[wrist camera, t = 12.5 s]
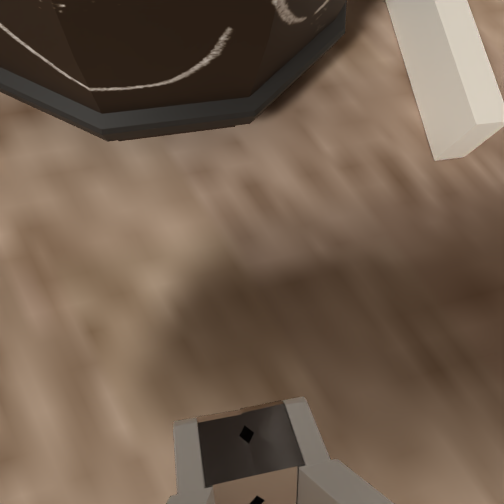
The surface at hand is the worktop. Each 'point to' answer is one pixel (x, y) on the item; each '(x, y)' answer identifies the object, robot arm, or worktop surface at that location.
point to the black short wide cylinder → (160, 59)
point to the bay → (448, 74)
